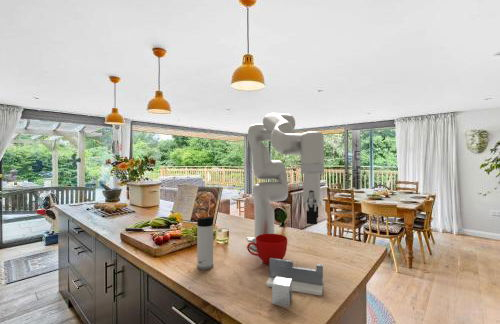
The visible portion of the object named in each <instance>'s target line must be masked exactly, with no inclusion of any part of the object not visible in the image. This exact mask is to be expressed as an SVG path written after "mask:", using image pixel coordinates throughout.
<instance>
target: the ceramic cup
mask: <svg viewBox="0 0 500 324" xmlns="http://www.w3.org/2000/svg"><path fill="white" fill-rule="evenodd" d="M252 244H253V245H255V246H256V248H257V251H256V252H257V253H256V252H253V251H251V250H250V246H252ZM287 247H288V237H286V236H285V235H282V234H279V233H274V234H262V235H259V236H257V237H256V243H253V242H248V244H247V246H246V248H247V249H246V250H247V252H248V253H250V254H251V255H253V256H256V257H259V258H260V260H261V261H262V262H263V263H264V264H265V265H268V266H270V258H276V259H283V260H284V257H285V255H286V252H287Z"/></svg>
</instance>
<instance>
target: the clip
mask: <svg viewBox="0 0 500 324" xmlns="http://www.w3.org/2000/svg"><path fill="white" fill-rule="evenodd" d="M291 300H292V301H293V291H292V279H290V278H284V277H277V276H276V277H275V279H274V281H273V283H272V287H271V304H272V305H274V306H275V305H276V306H281V307H286V308H290V305H291Z"/></svg>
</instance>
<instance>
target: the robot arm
mask: <svg viewBox="0 0 500 324" xmlns="http://www.w3.org/2000/svg"><path fill="white" fill-rule="evenodd" d="M295 128H296V119H295V117H294V116H293V115H292V114H290V113H279V112H270V113H268V114H265V116H264V117H263V118H262V123H254V124H251V125H250V126H249V127H248V131H247V140H248V145H249V147H250V149H251V154H252V163H253V164H252V165H253V173H254V177H255V178H256V179H257V180H264V181H261V182H258V183H256V184H254V185H253V187H252V197H253V205H254V236H253V237H251V236H247V238H246V241H247V242H248V243H251V242H253V243H256V237H257V236H259V235H262V234H275V209H274V207H273V206H272V205H271V202H282V201H286V200H287V199H288V196H289V184H288V177H287V169H286V165H285V163H284V162H283V161H281V160H277V159H276V160H274V159H271V155H270V150H269V148H268V147H267V146H266V145H265V143H264V142H271V146H272V147H273V148H274V150H276V151H277V152H278V153H279V154H281V155H285V156H287V155H288V156H293V155H298V156H300V174H303V183H302V184H303V188H302V190H303V191H302V193H303V194H302V203H303V204H304V205H306V212H305V213H306V214H305V215H306V225H317V224H318V218H319V205H318V204H319V202H320V199H321V198H320V197H321V175H323V174H325V140H324V139H325V138H324V134H323V132H321V131H306V132H302V133H293V131H294V130H295ZM265 180H274V181H265ZM251 248H252V250H253V251H256V252H257V248H256V246H255V245H253V244H252V245H251Z"/></svg>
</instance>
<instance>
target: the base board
mask: <svg viewBox="0 0 500 324" xmlns="http://www.w3.org/2000/svg"><path fill="white" fill-rule="evenodd" d="M274 279H275V278H270V277H268V279H267V281H266V282H265V287H268V288H272V283H273V281H274ZM323 283H324V277H323ZM323 289H324V285H323V286H320V285H314V284H308V283H301V282H295V281H292V292H297V293H298V292H299V293H303V294H304V293H305V294H309V295H316V296H322V295H323Z"/></svg>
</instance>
